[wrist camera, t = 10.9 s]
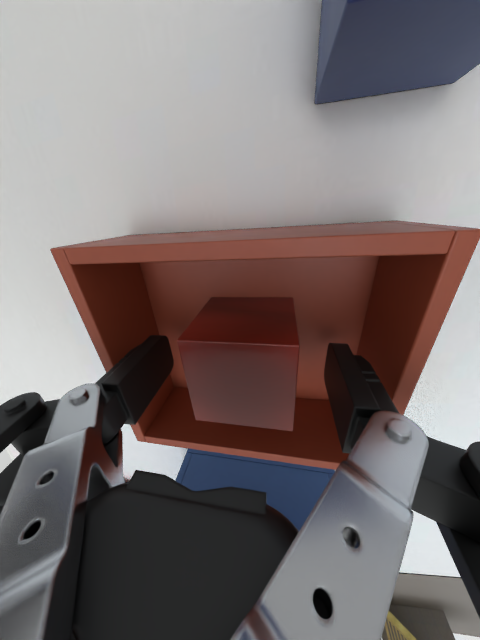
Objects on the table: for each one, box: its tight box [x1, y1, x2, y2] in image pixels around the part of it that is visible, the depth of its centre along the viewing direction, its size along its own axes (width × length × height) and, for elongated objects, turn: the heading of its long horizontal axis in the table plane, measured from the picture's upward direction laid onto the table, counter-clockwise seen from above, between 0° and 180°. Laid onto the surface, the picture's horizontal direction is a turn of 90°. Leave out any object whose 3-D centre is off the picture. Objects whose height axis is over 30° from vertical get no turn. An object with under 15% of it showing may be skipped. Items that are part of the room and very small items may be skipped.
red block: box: [177, 297, 300, 431], centre depth 10 cm, size 4×4×4 cm
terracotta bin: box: [50, 221, 480, 470], centre depth 11 cm, size 13×11×4 cm
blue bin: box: [176, 448, 335, 531], centre depth 20 cm, size 13×11×4 cm
